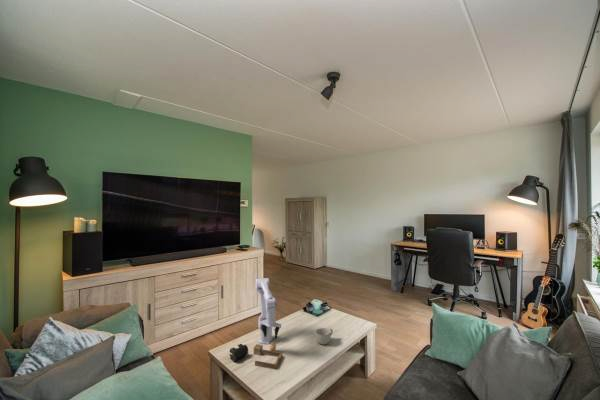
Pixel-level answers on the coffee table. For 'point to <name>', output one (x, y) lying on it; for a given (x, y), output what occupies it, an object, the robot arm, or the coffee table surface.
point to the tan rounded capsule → (273, 347)
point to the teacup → (323, 335)
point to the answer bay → (270, 365)
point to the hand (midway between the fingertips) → (270, 337)
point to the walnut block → (258, 349)
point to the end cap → (238, 352)
